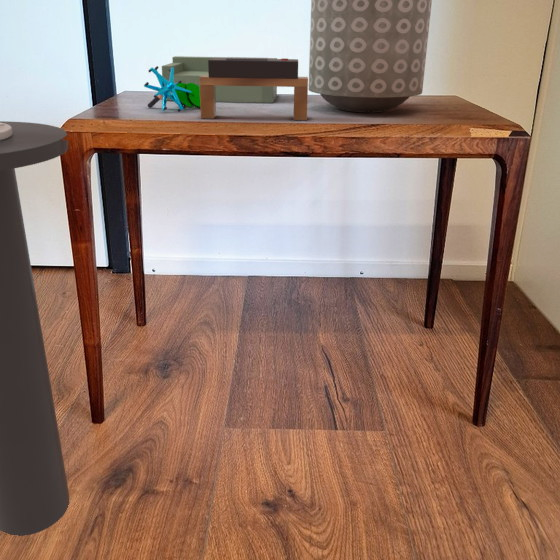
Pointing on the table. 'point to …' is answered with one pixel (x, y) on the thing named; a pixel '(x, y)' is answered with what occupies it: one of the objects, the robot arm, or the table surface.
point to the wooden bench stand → (210, 90)
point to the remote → (253, 68)
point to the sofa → (198, 66)
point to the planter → (368, 52)
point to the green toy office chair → (174, 92)
